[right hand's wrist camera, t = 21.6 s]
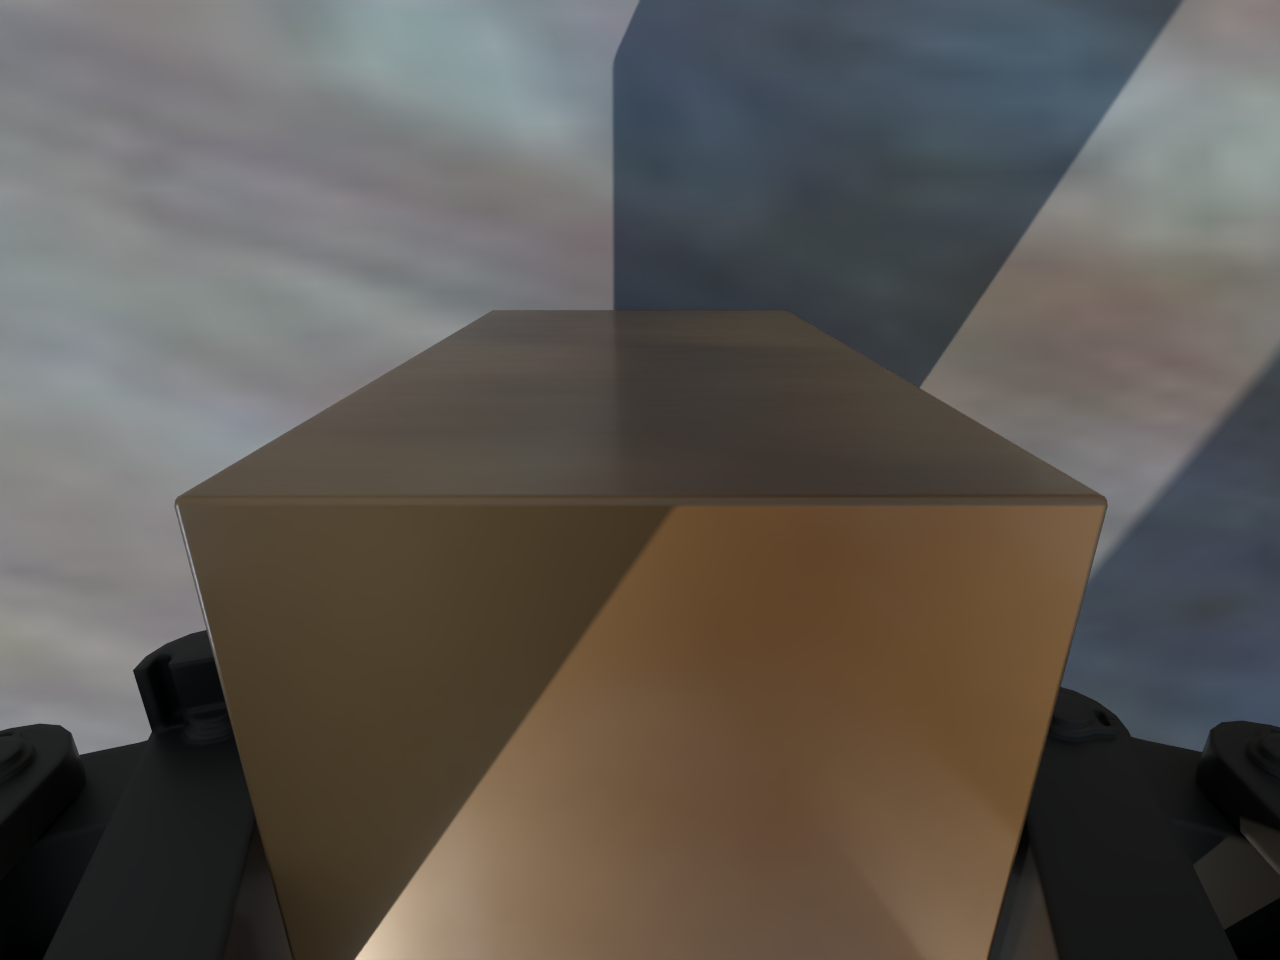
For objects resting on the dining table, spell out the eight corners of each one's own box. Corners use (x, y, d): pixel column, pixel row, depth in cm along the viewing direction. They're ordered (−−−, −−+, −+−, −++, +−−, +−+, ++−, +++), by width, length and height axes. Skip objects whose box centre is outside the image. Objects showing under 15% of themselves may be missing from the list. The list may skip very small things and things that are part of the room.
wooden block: (517, 664, 18) (359, 1232, 8) (491, 309, 14) (167, 498, 5) (762, 664, 18) (921, 1231, 8) (789, 309, 14) (1113, 497, 5)
